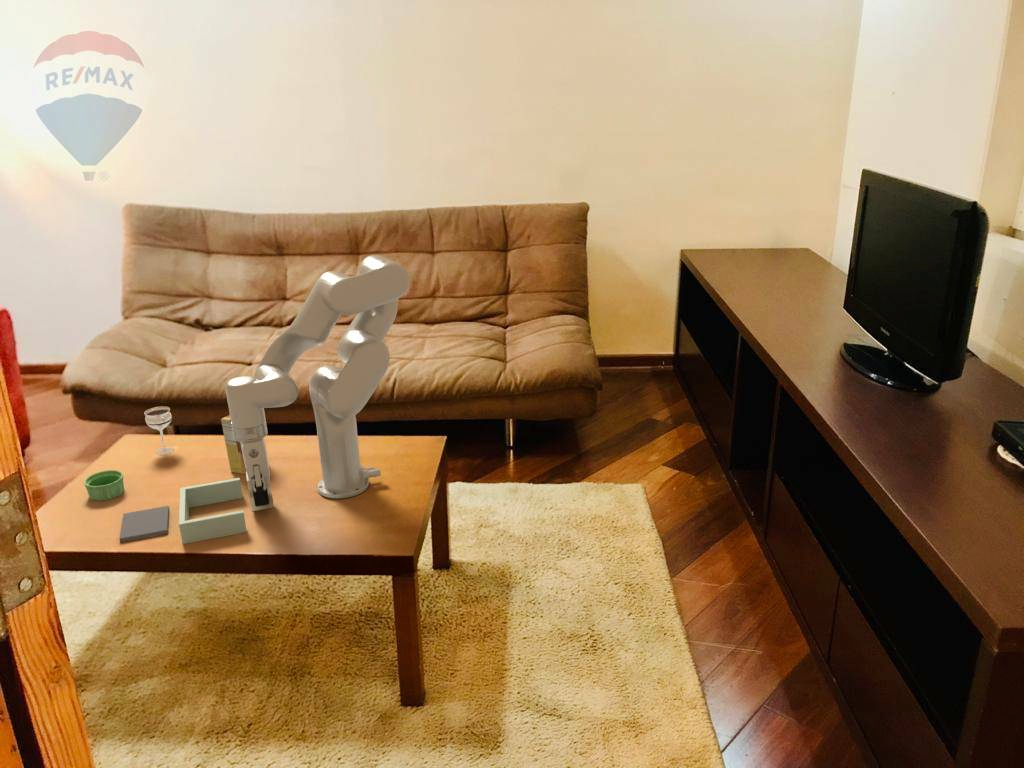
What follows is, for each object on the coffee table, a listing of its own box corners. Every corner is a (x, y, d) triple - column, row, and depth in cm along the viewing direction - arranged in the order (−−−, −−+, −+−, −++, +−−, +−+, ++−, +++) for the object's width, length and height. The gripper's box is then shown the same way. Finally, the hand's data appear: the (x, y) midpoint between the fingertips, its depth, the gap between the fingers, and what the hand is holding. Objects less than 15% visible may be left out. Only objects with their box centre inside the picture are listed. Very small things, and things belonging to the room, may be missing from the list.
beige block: (272, 497, 203) (267, 467, 201) (274, 507, 199) (269, 476, 196) (250, 501, 202) (245, 471, 199) (252, 511, 198) (246, 480, 195)
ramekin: (96, 506, 205) (92, 490, 204) (81, 494, 211) (77, 479, 210) (132, 492, 211) (129, 476, 210) (117, 481, 217) (113, 466, 216)
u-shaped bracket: (242, 495, 208) (239, 477, 206) (246, 531, 192) (243, 512, 190) (183, 506, 204) (180, 487, 202) (182, 544, 187) (178, 524, 186)
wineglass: (159, 445, 237) (151, 406, 233) (182, 445, 237) (174, 406, 232) (147, 456, 231) (138, 415, 227) (170, 456, 230) (162, 416, 226)
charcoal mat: (169, 509, 203) (168, 505, 202) (167, 533, 192) (166, 529, 192) (124, 517, 200) (123, 513, 199) (120, 542, 189) (119, 538, 189)
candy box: (252, 457, 228) (244, 405, 222) (264, 460, 226) (256, 407, 221) (229, 472, 220) (220, 418, 215) (242, 474, 219) (233, 420, 213)
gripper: (269, 441, 187) (280, 513, 194) (264, 413, 202) (274, 481, 209) (234, 447, 185) (247, 519, 191) (231, 418, 200) (243, 486, 206)
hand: (261, 498), depth 200 cm, fingers closed on beige block, 5 cm apart
